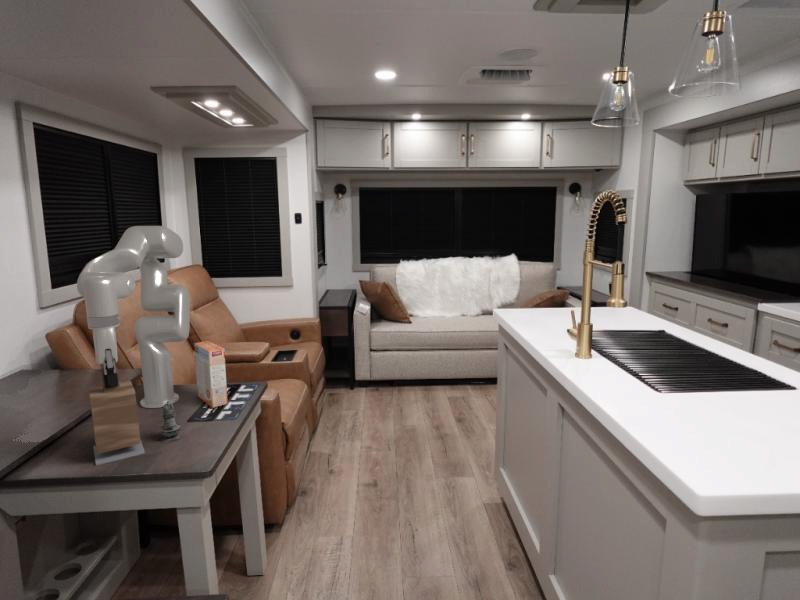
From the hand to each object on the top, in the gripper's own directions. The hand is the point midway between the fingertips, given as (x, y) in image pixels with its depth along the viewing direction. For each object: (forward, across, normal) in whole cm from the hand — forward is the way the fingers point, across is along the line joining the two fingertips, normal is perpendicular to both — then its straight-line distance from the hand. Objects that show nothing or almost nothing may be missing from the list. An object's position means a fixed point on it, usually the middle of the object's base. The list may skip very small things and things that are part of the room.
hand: (110, 384), depth 140 cm
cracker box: (+20, -23, +32) cm, 44 cm away
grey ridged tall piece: (+20, 0, +14) cm, 25 cm away
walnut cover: (+17, 0, 0) cm, 17 cm away
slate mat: (+20, 0, 0) cm, 20 cm away
